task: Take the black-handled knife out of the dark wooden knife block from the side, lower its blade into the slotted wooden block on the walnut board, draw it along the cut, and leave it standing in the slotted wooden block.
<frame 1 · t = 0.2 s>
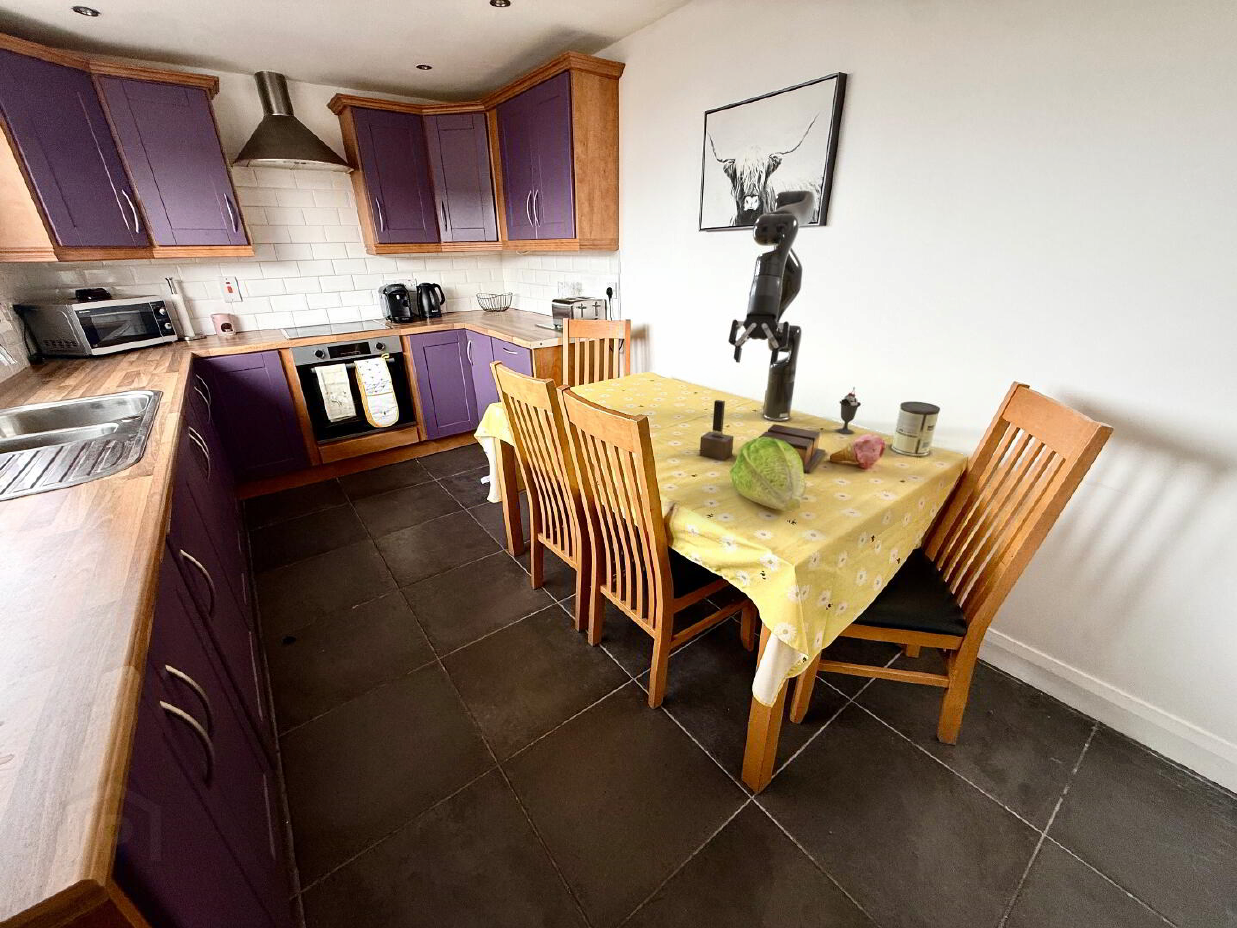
hand: (754, 363, 125), 31 cm above the table, tool tilted 20°, fingers open, 8 cm apart
coffee can: (909, 450, 154), on the table
knife: (717, 428, 149), in the knife block
knife block: (715, 455, 152), on the table
slotted wooden block: (786, 456, 151), on the table
sundae: (844, 432, 170), on the table
lettuce: (768, 501, 125), on the table
ice cream: (856, 466, 143), on the table
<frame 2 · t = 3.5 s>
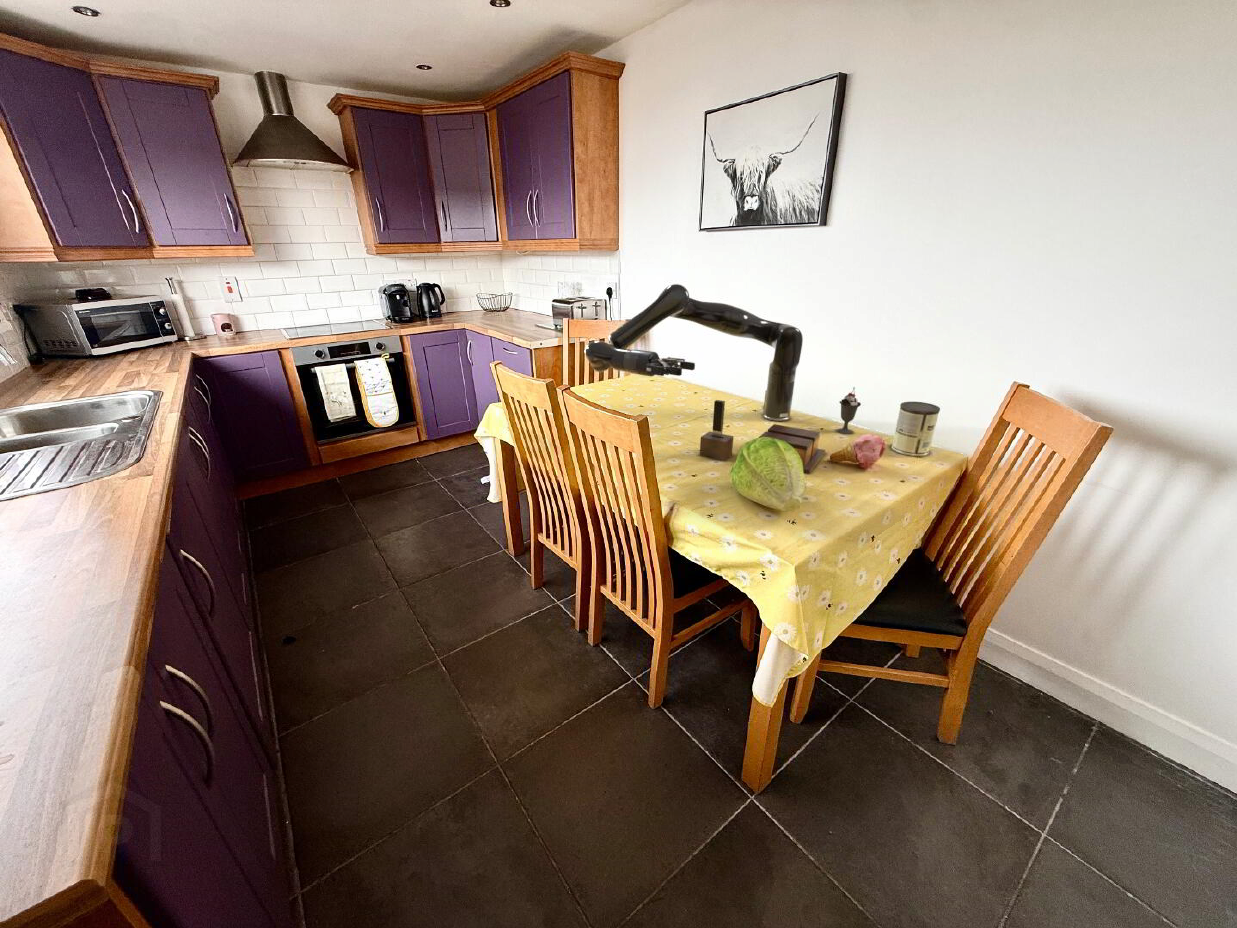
hand: (688, 369, 147), 25 cm above the table, tool horizontal, fingers open, 8 cm apart
nothing on the table moved.
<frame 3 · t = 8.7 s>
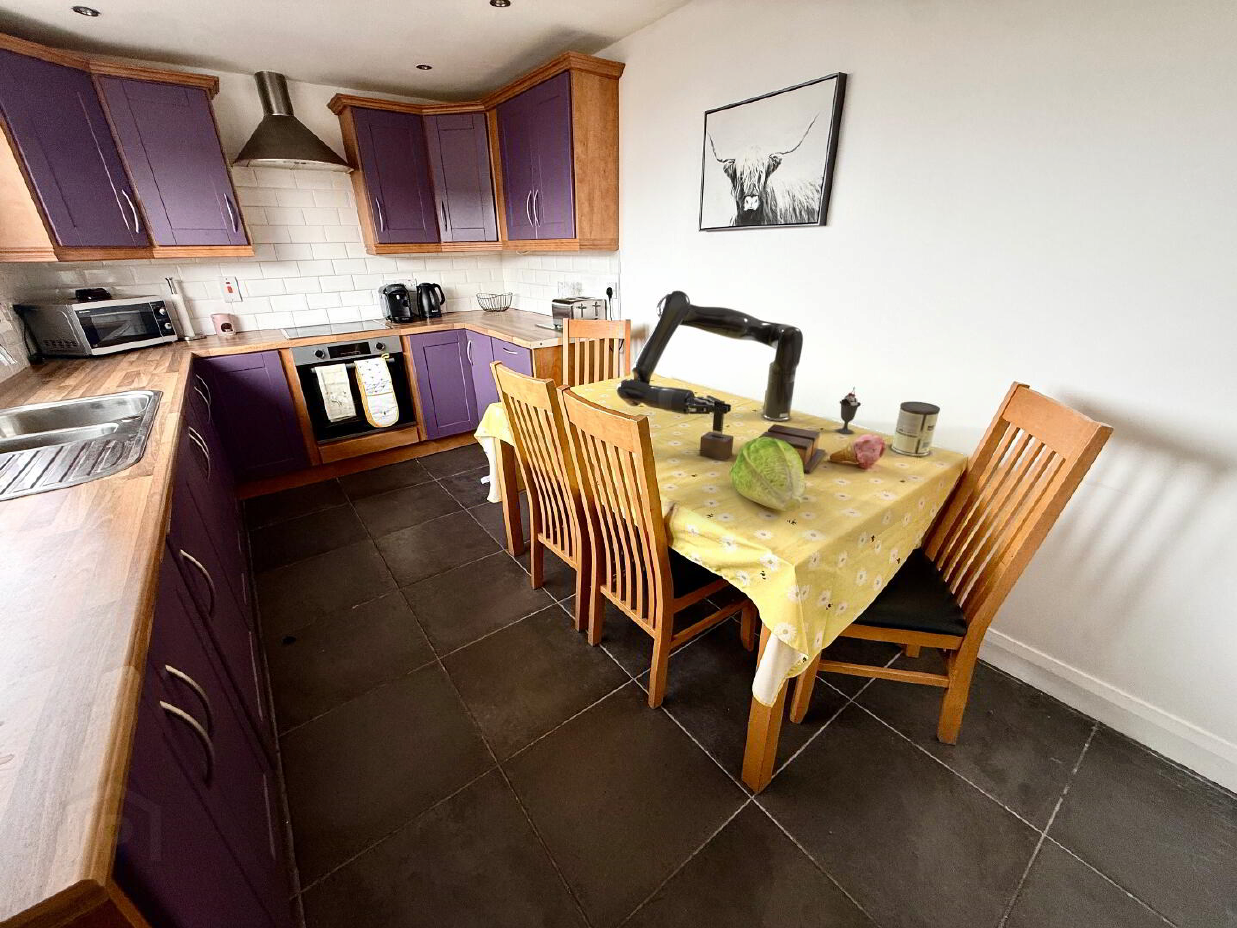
hand: (728, 409, 145), 15 cm above the table, tool horizontal, fingers closed on knife, 1 cm apart
knife: (717, 428, 149), in the knife block, touching gripper
everything else where it was.
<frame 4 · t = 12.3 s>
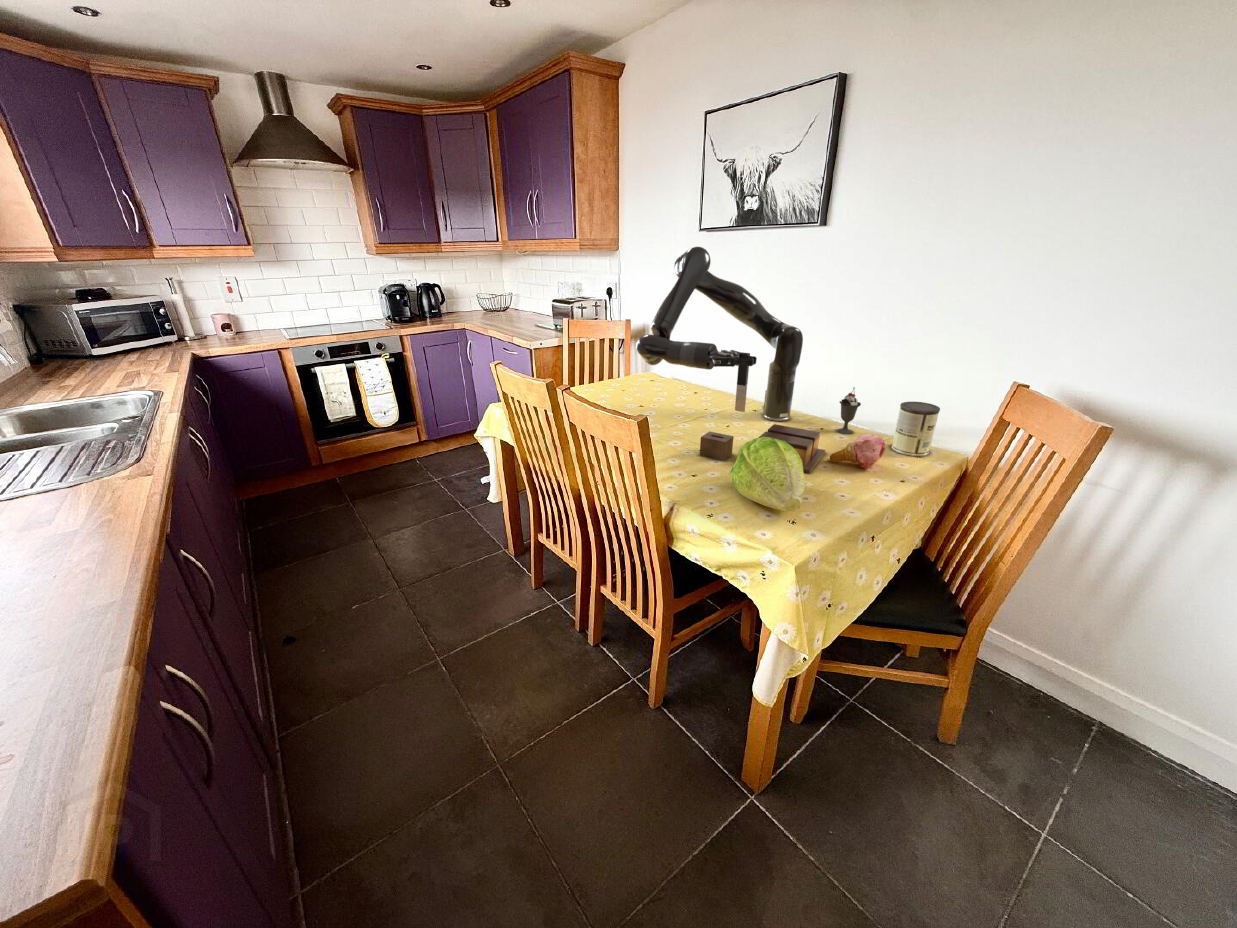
hand: (754, 361, 139), 29 cm above the table, tool horizontal, fingers closed on knife
knife: (742, 382, 144), point 22 cm above the table, touching gripper
everything else where it was.
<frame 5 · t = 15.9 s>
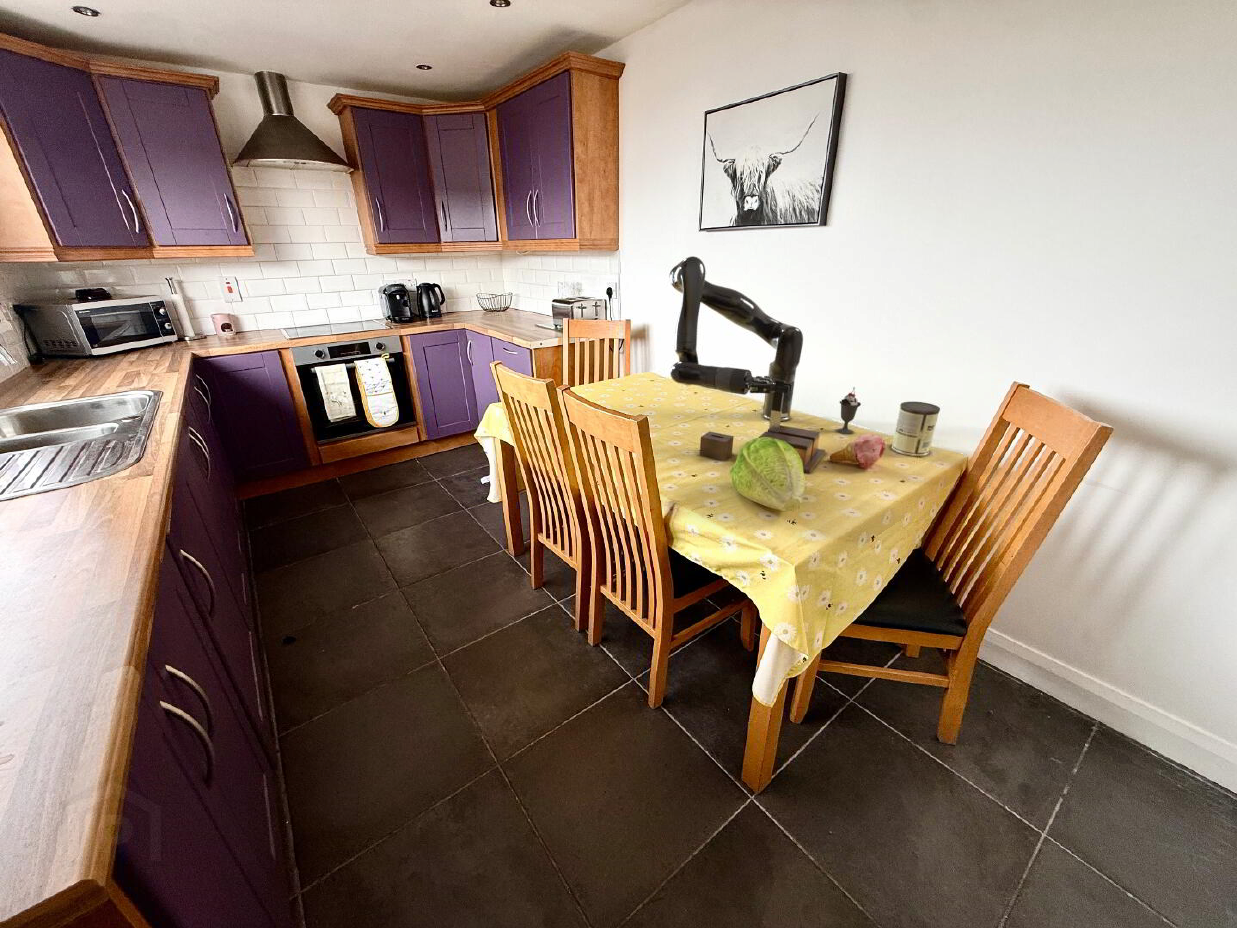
hand: (789, 388, 143), 21 cm above the table, tool horizontal, fingers closed on knife
knife: (776, 408, 147), point 14 cm above the table, touching gripper
everything else where it was.
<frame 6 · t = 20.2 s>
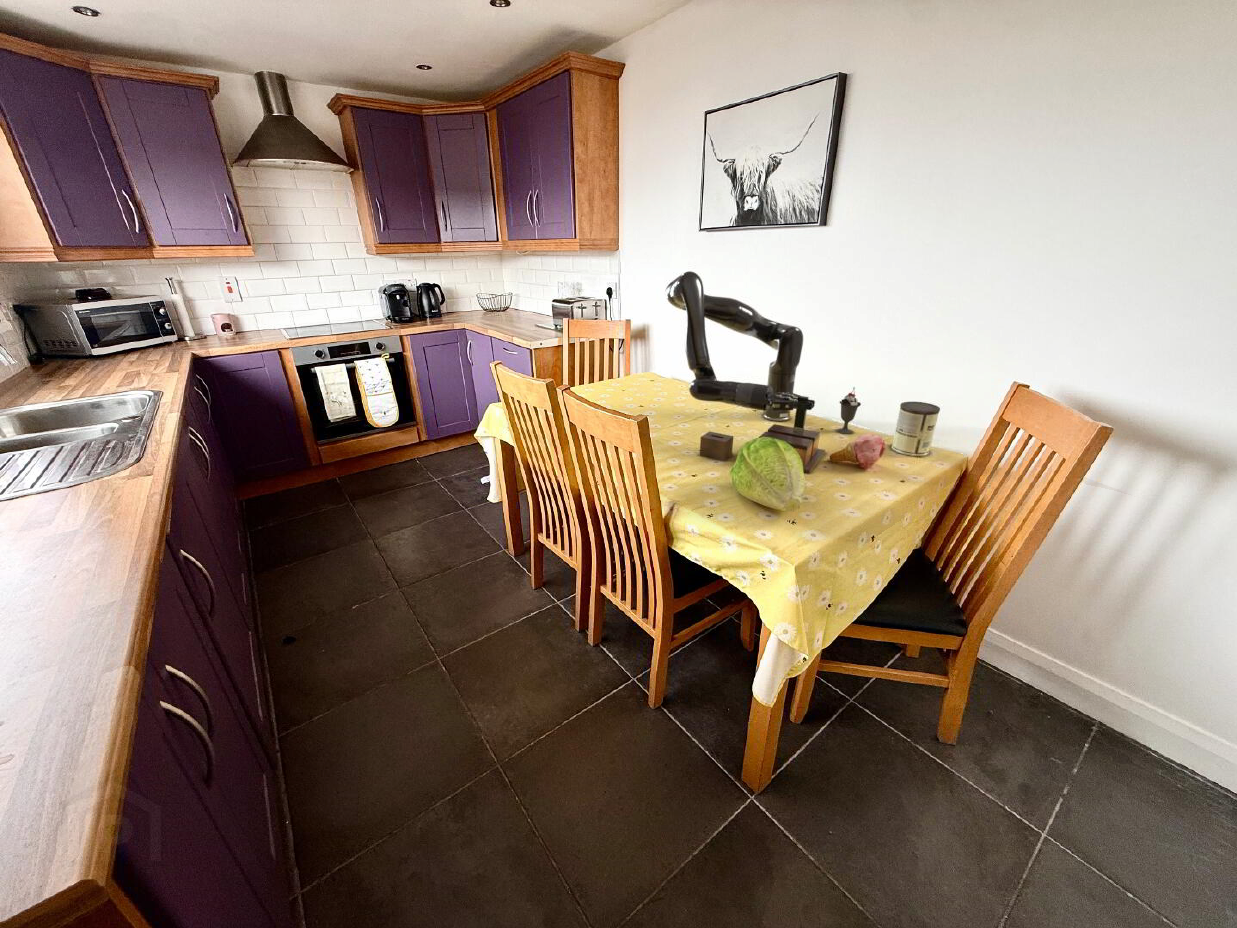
hand: (813, 405, 141), 17 cm above the table, tool horizontal, fingers closed on knife, 1 cm apart
knife: (799, 425, 145), point 10 cm above the table, touching gripper
everything else where it was.
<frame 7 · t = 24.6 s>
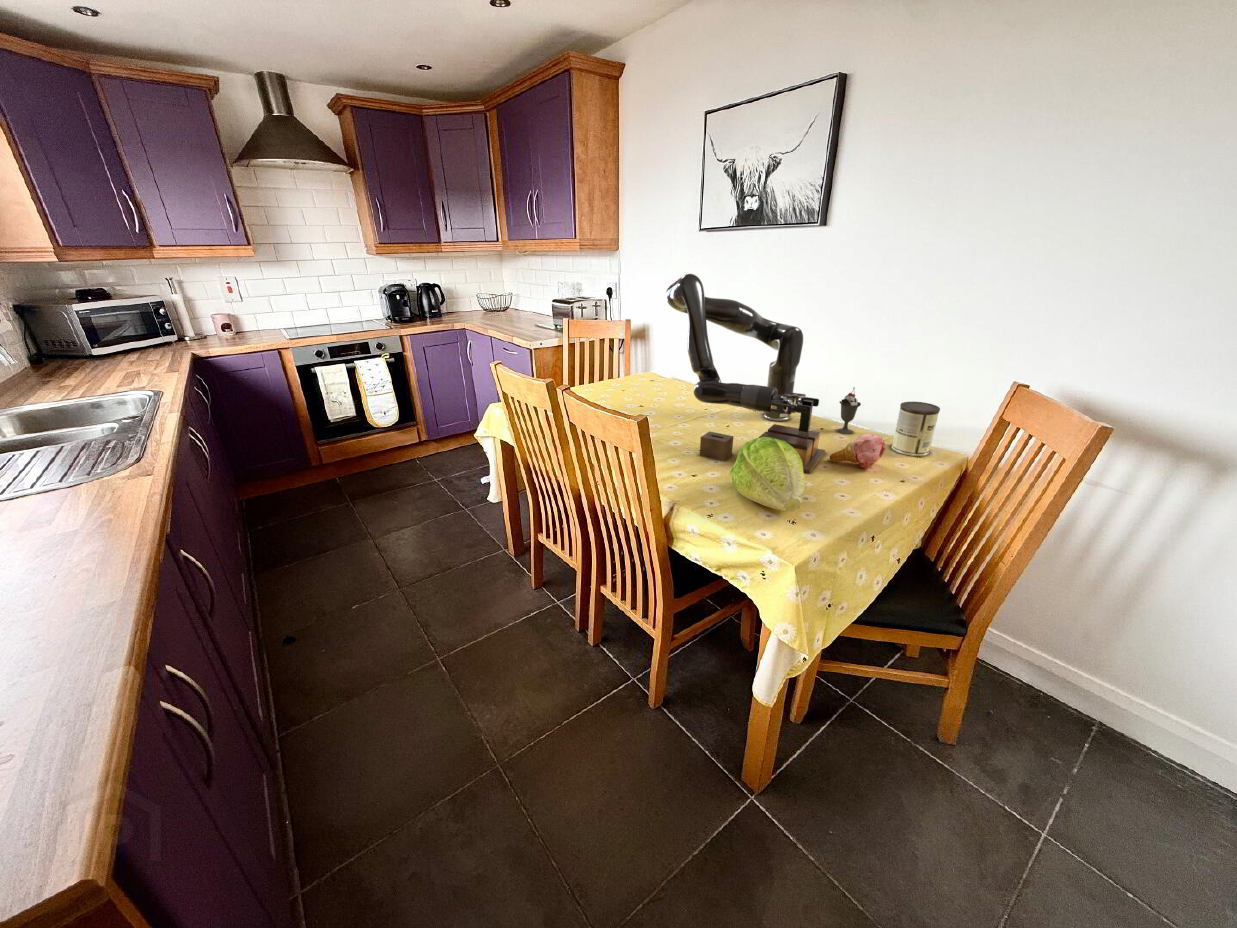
hand: (814, 406, 141), 17 cm above the table, tool horizontal, fingers open, 8 cm apart
knife: (804, 429, 145), point 10 cm above the table, touching slotted wooden block
everything else where it was.
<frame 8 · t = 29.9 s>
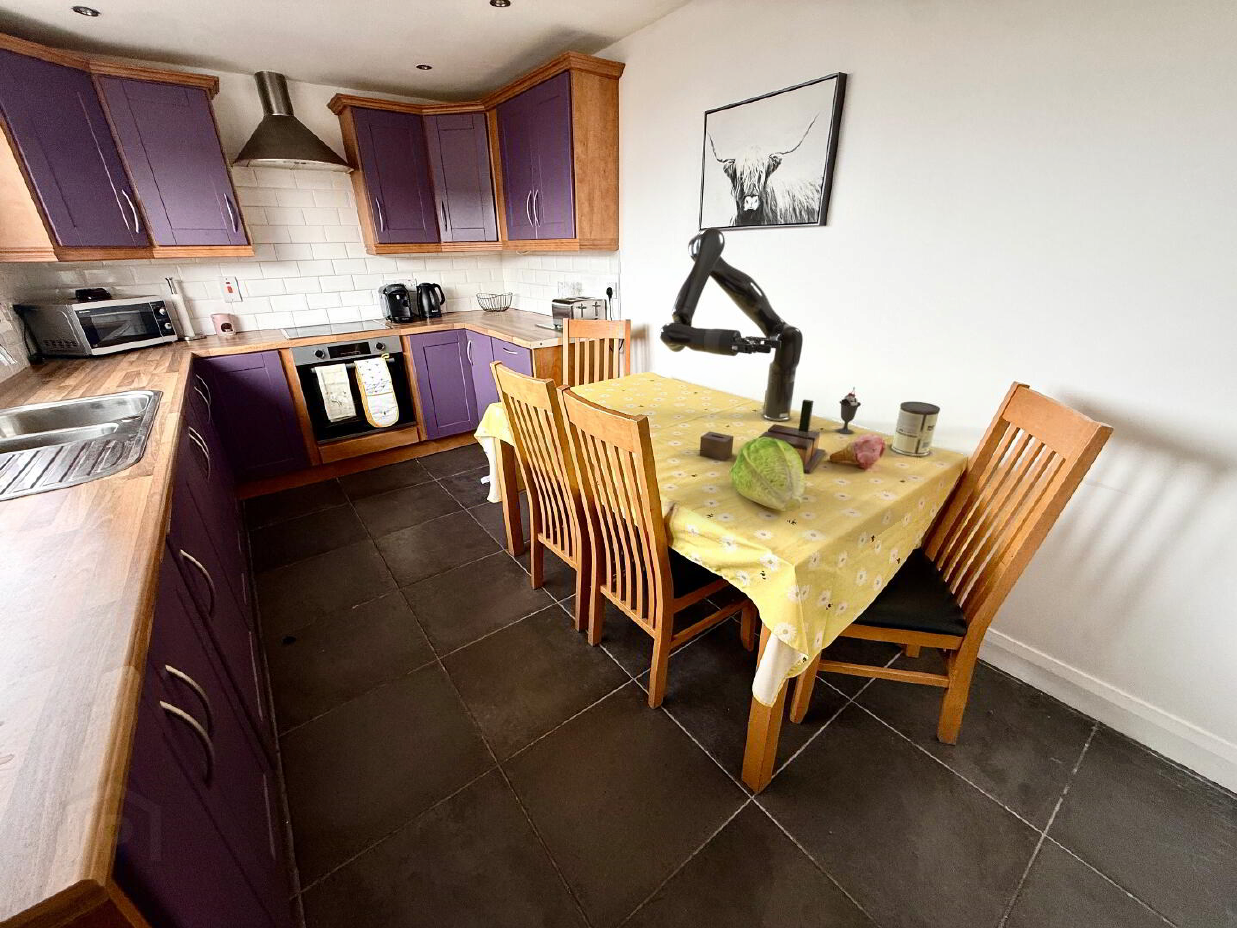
hand: (775, 347, 141), 32 cm above the table, tool horizontal, fingers open, 8 cm apart
nothing on the table moved.
at the end: knife moved 24.6 cm from its start; knife inside the target area on the slotted wooden block (3.8 cm from its centre), point 9.5 cm above the slotted wooden block's base; the gripper is holding nothing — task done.
